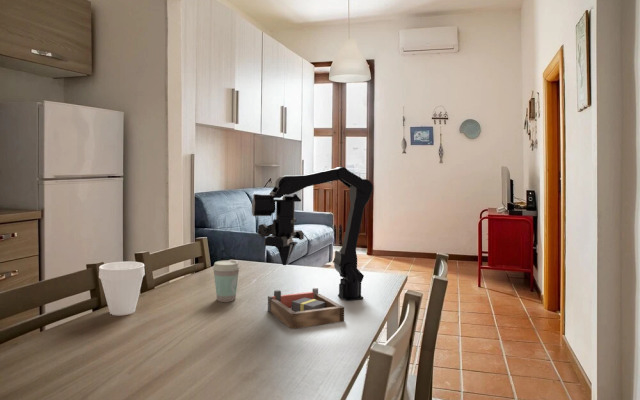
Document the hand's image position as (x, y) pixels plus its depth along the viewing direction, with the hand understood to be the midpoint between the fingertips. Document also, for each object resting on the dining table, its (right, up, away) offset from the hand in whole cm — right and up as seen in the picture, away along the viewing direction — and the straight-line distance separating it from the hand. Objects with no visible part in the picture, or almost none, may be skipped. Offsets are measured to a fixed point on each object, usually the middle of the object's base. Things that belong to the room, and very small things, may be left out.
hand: (284, 264), depth 152 cm
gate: (+4, -12, -6) cm, 14 cm away
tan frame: (+7, -13, -13) cm, 19 cm away
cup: (-46, -12, -12) cm, 49 cm away
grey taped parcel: (+8, -13, -11) cm, 18 cm away
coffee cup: (-19, -12, +3) cm, 22 cm away
